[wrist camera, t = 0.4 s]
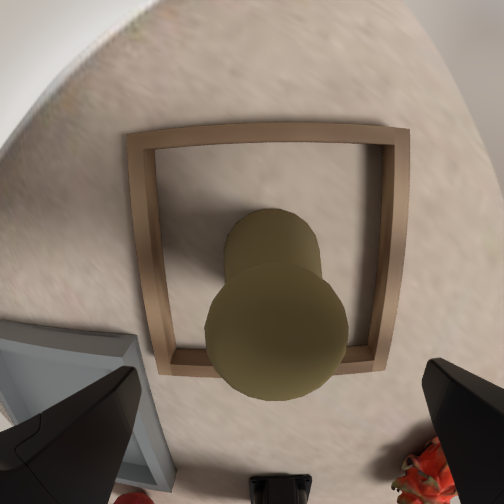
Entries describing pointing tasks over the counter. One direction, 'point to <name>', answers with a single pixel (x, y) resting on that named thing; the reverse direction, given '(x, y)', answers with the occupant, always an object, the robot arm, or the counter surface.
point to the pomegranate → (134, 498)
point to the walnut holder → (146, 142)
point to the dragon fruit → (426, 478)
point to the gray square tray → (76, 378)
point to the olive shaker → (275, 311)
